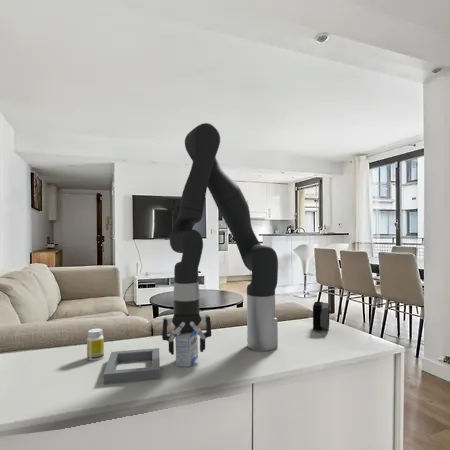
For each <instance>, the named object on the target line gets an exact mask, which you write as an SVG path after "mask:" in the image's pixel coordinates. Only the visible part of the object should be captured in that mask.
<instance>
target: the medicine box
mask: <svg viewBox="0 0 450 450" xmlns="http://www.w3.org/2000/svg"><path fill="white" fill-rule="evenodd" d="M198 336H199V335H198V334H197V333H196V331H193V332H191V333H190V332H186V333H181V332H179V333H178V335H177V336H176V337H175V338H174V340H175V344H174V345H175V366H176V367H182V368H183V367H185V368H186V367H187V368H190V367H192V365H193V364H194V363H195V361H196V359H198V356H199V349H198V348H199V345H198V343H199V342H198V340H199V339H198Z"/></svg>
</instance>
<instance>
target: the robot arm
mask: <svg viewBox="0 0 450 450" xmlns="http://www.w3.org/2000/svg"><path fill="white" fill-rule="evenodd" d="M220 144H221V135H220V131H219V130H218V128H217V127H216V126H215V125H213V124H212V123H208V122H207V123H206V122H203V123H201V124H198V125H196V126H195V127H194V128H193V129H192V130H190V131H189V132H188V133H187V134H186V136H185V138H184V147H185V151H186V153H187V155H188V156H189V157H190V159H191V160H192V164H191V169H190V172H189V175H188V176H187V179H186V182H185V184H184V186H183V187H184V188H183V191H182V193H181V199H180V204H179V211H178V215H177V217H176V219H175V221H174V223H173V226H172V229H171V232H170V235H169V246H170V248H171V250H172V251H173V252H176V253H178V254H182V255H181V260H180V261H177V262H176V263H175V265H174V268H173V271H174V274H173V275H174V277H173V278H174V284H173V317H172V318H171V317H170V318H167V317H163V319H162V332H161V333H162V334H161V337H162V338H161V339H162V341H166V342H168V353H170V354H171V355H172V356H173V355H174V354H175V352H174V351H175V349H174V348H175V346H174V345H175V344H174V340H175V337H176V336H177V335H178V334H179V333H180V332H181V333H186V332H190V333H191V332H193V331H196V333H197V334H198V336H199V350H200V353H203V352H204V351H205V350H206V339H207V338H211V336H212V324H211V317H210V315H209V314H206V315H205V316H201V315H200V314H201V313H200V297H201V295H200V285H199V266H200V263H201V259H202V254H203V248H204V241H203V237H202V235H201V233H200V232H199V231H198V230H196V229H193V228H194V226H195V225H197V224H198V223H199V222H201V220H202V218H203V214H204V207H205V202H206V195H207V190H208V191H209V192H210V195H211V197H212V199H213V201H214V203H215V205H216V207H217V210H218V211H219V213H220V215H221V217H222V218H223V221H224V222H225V225H226V226H227V228H228V230H229V232H230V234H231V236H232V238H233V240H234V242H235V244H236V247H237V250H238V251H239V254H240V257H241V260H242V263H243V265H244V267H245V268H246V269H247V270H248V271H250V272H251V281H250V283H249V284H248V285H247V287H246V318H247V319H246V322H247V325H246V329H247V330H246V331H247V332H246V333H247V337H246V338H247V339H246V341H247V348H248V349H250V350H252V351H255V352H256V351H257V352H269V351H273V350H274V349H278V346H279V343H278V342H279V339H278V338H279V336H278V331H279V330H278V329H279V328H278V322H279V321H278V318H277V317H276V288H277V285H278V276H279V275H278V274H279V273H278V272H279V260H278V254H277V252H276V251H275V249H274V248H273V247H271V246H268V245H262V244H261V242H260V241H259V239H258V238H257V236H256V234H255V231H254V229H253V226H252V220H251V213H250V208H249V205H248V202H247V199H246V197H245V196H244V193H243V192H242V189H241V188H240V186H239V185H238V184H237V182H235V180H234V179H233V178H231V177H230V175H228V174H227V173H226V172H225V170H224V169H223V168H222V167H221V165H220V164H219V162H218V159H217V153H218V151H219V147H220ZM201 322H203V324H204V325H205V332H203V331H202V330H201V328H200V326H199V325H200V324H201ZM171 324H173V326H174V328H173V329H172V331H171V333H170V334H168V327H170V325H171Z"/></svg>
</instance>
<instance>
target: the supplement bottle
mask: <svg viewBox="0 0 450 450" xmlns="http://www.w3.org/2000/svg"><path fill="white" fill-rule="evenodd" d="M87 335H88V336H87V338H86V355H87V357H86V359H87V360H88V361H94V362H95V361H99V360H101V359H103V358H105V356H104V355H105V349H104V348H105V347H104V346H105V345H104V343H105V342H104V341H105V340H104V335H103V329H102V328H92V329H89V330H88V332H87Z"/></svg>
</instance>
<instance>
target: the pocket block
mask: <svg viewBox="0 0 450 450" xmlns="http://www.w3.org/2000/svg"><path fill="white" fill-rule="evenodd" d="M146 360H147V361H148V360H151V362H152V363H151V366H148V367H147V366H146V367H138V368H137V367H135V368H125V369H117V367H118V363H124V362H134V361H135V362H136V361H146ZM160 360H161V359H160V348H159V347H157V348H155V347H154V348H145V349H143V348H142V349H133V350H131V349H130V350H128V349H127V350H116V351H111V352H110V354H109V357H108V361H107V363H106V365H105V368H104V369H105V370H104V372H103V375H102V376H103V381H102V383H103V385H108V384H110V385H111V384H119V383H120V384H121V383H122V384H123V383H131V382H140V381H151V380H160V378H161V369H160V368H161V365H160V364H161V363H160V362H161V361H160Z"/></svg>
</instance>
